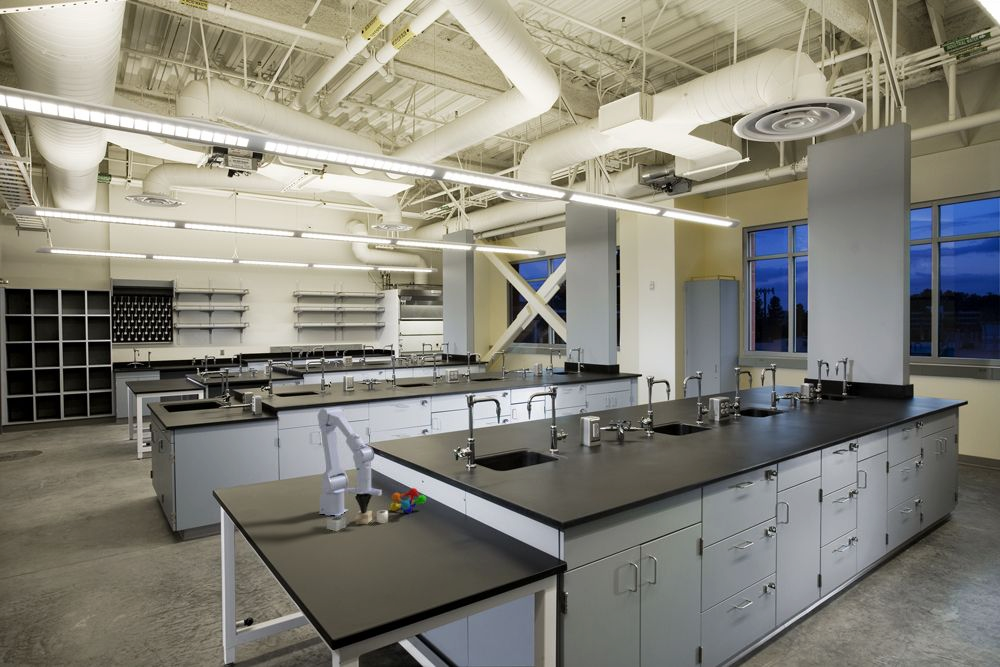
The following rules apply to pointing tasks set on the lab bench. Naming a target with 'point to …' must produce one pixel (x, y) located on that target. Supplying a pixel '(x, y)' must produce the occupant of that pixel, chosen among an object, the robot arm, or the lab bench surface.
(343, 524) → the grey labelled block
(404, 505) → the molecular model
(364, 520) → the beech block
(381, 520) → the offwhite stopper
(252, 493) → the lab bench surface
